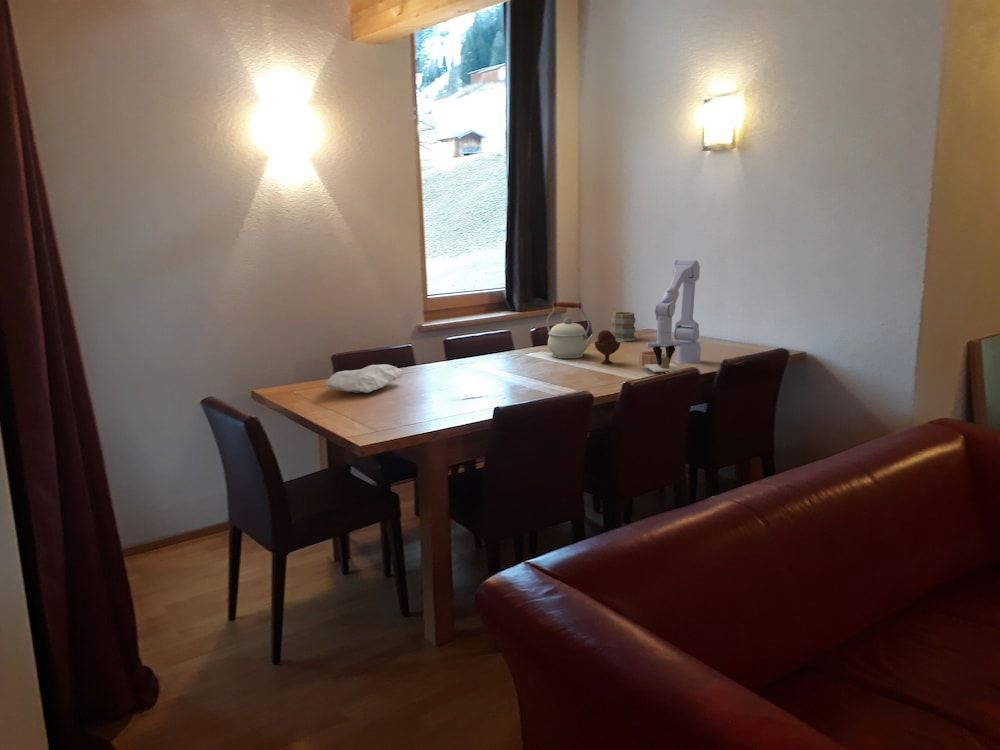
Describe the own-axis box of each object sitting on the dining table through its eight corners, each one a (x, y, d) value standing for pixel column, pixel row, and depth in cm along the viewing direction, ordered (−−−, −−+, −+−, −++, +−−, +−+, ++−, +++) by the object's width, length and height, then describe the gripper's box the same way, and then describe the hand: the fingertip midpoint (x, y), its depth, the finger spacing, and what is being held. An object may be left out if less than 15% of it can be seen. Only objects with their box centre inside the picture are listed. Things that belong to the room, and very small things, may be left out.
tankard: (639, 341, 380) (640, 311, 377) (616, 343, 377) (617, 313, 374) (622, 335, 399) (623, 307, 396) (600, 337, 396) (600, 308, 393)
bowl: (658, 361, 330) (658, 350, 328) (666, 366, 320) (667, 354, 319) (636, 362, 328) (636, 351, 327) (644, 367, 318) (644, 355, 317)
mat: (676, 367, 317) (676, 366, 317) (687, 373, 306) (687, 372, 306) (639, 369, 315) (639, 368, 315) (649, 375, 304) (649, 374, 303)
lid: (672, 364, 317) (672, 353, 316) (682, 370, 305) (683, 359, 304) (644, 366, 315) (644, 355, 314) (654, 372, 304) (654, 360, 303)
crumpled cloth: (304, 390, 285) (305, 367, 282) (378, 373, 310) (378, 352, 307) (342, 409, 270) (343, 385, 267) (416, 390, 295) (417, 368, 292)
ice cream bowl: (619, 366, 321) (619, 331, 318) (593, 366, 323) (593, 331, 320) (620, 361, 331) (621, 328, 328) (595, 361, 333) (595, 327, 330)
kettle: (537, 357, 345) (536, 302, 340) (556, 350, 360) (556, 298, 355) (585, 362, 332) (586, 305, 326) (604, 355, 347) (604, 301, 341)
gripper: (650, 334, 302) (649, 367, 305) (685, 332, 304) (684, 365, 307) (644, 331, 309) (644, 363, 312) (678, 329, 311) (677, 362, 314)
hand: (663, 364), depth 310 cm, fingers closed on lid, 3 cm apart
